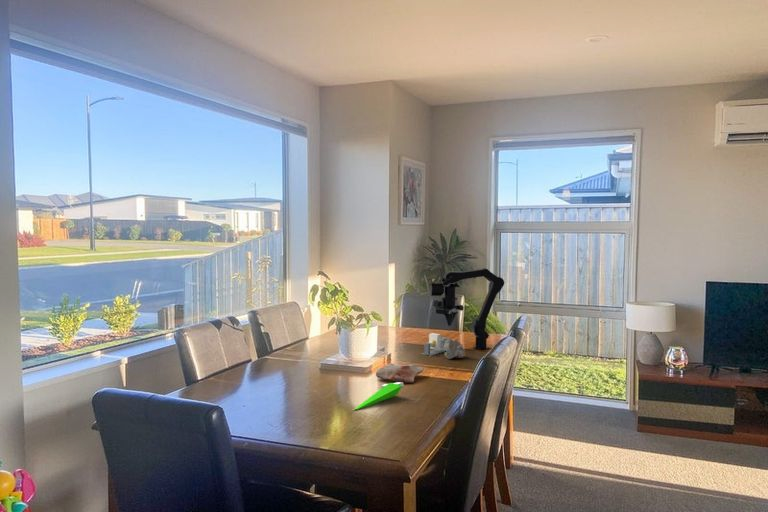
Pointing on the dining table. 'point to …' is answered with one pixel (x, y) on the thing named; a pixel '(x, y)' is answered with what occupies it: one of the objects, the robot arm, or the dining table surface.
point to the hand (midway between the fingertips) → (449, 325)
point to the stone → (399, 372)
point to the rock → (453, 349)
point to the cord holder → (432, 344)
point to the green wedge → (383, 394)
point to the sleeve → (436, 338)
